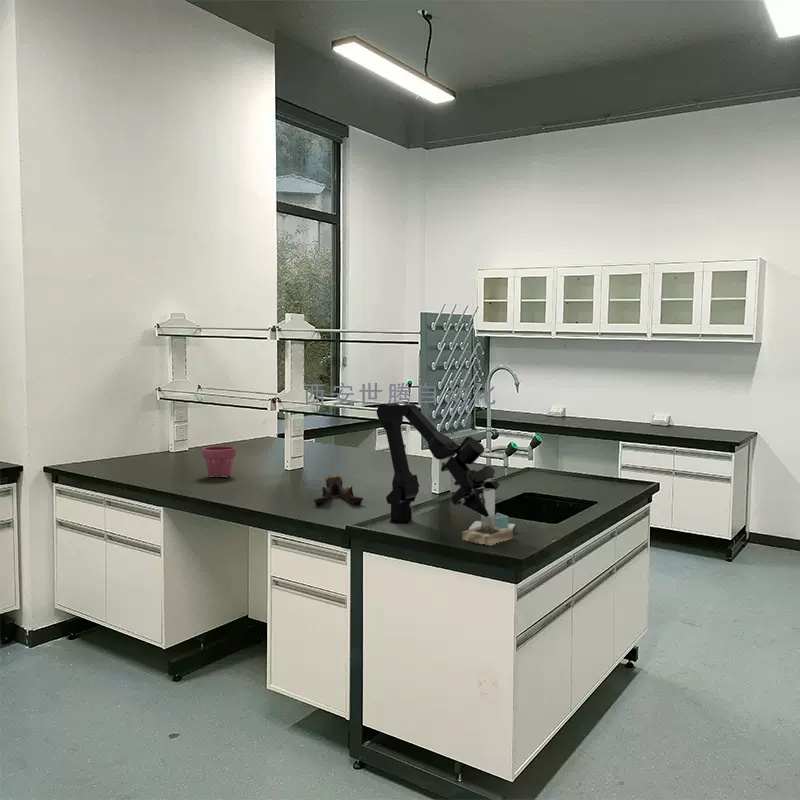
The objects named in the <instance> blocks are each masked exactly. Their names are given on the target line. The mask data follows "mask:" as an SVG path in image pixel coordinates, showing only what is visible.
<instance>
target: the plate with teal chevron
mask: <svg viewBox="0 0 800 800" xmlns="http://www.w3.org/2000/svg"><path fill="white" fill-rule="evenodd" d="M479 526H481V520H475V521H474V522H473V523H472V524H471V525H470V526H469V528H468V530H470V529H473V528H476V527H479ZM494 527H499V528H504V529H509V530H513V531H514V528H515V527H516V523H509V516H508V515H507V514H506V515H505V514H502V513H500V512H497V513H496V514H495V525H494Z"/></svg>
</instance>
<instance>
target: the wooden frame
mask: <svg viewBox="0 0 800 800" xmlns="http://www.w3.org/2000/svg"><path fill="white" fill-rule="evenodd" d="M461 532H462V533H461V541H464V540H465V542H469V541H470V542H469V543H473V542H474V544H478V543H479V544H478V545H482V544H485V545H484V546H487V545H490V546H489V547H492V546H495V545H497V544H496V543H498V544H500V543H499V542H501V543H504V542H506V541H508V540H512V539H513V537H514V536H513V532H514V529H513V530H509V529H504V528H499V527H494V534H491V535H490V534H485V533H481V526H479V527H476V528H473V529H470V530H469V529H467V530H463V531H461ZM503 541H504V542H503ZM494 544H495V545H494ZM491 545H492V546H491Z"/></svg>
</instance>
